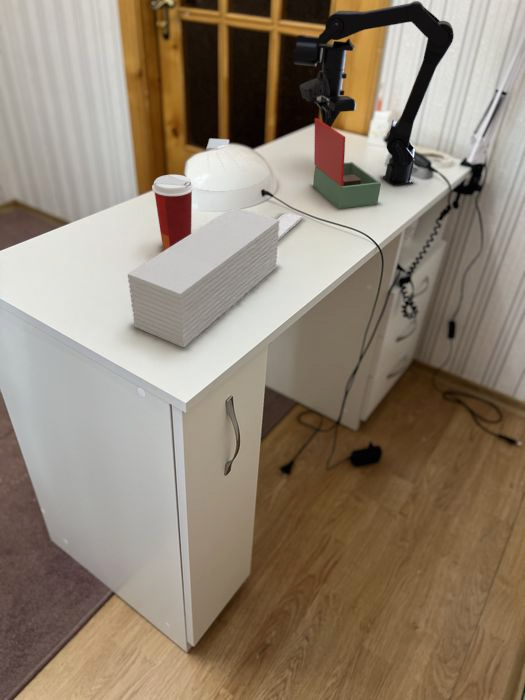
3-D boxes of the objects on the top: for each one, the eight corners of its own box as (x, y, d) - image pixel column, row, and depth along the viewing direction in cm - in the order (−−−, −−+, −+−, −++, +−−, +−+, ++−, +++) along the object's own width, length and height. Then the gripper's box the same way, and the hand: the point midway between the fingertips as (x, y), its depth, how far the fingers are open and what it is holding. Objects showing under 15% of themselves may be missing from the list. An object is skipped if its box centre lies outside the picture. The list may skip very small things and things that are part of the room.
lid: (316, 117, 134) (314, 118, 134) (345, 136, 124) (343, 137, 123) (316, 164, 142) (314, 164, 142) (343, 185, 131) (341, 186, 131)
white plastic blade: (254, 239, 120) (254, 234, 120) (283, 215, 131) (283, 211, 130) (274, 244, 119) (274, 239, 118) (301, 219, 129) (302, 215, 128)
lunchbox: (349, 182, 150) (352, 162, 146) (377, 204, 139) (381, 182, 135) (312, 186, 146) (315, 165, 143) (338, 209, 135) (341, 187, 132)
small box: (227, 188, 142) (227, 148, 136) (206, 187, 142) (205, 147, 136) (229, 177, 148) (230, 138, 142) (209, 176, 148) (209, 137, 142)
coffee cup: (202, 243, 118) (199, 177, 108) (185, 260, 112) (182, 191, 102) (168, 236, 120) (163, 170, 110) (150, 252, 114) (143, 184, 104)
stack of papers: (233, 253, 115) (233, 206, 108) (276, 267, 111) (279, 220, 104) (134, 326, 93) (127, 273, 86) (183, 347, 89) (180, 293, 82)
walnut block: (352, 188, 144) (354, 174, 142) (359, 194, 141) (361, 179, 139) (335, 190, 143) (337, 176, 140) (342, 196, 140) (344, 181, 137)
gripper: (291, 61, 143) (286, 122, 153) (321, 77, 130) (314, 142, 139) (327, 60, 146) (321, 119, 156) (361, 75, 133) (351, 139, 143)
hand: (326, 129), depth 149 cm, fingers closed
